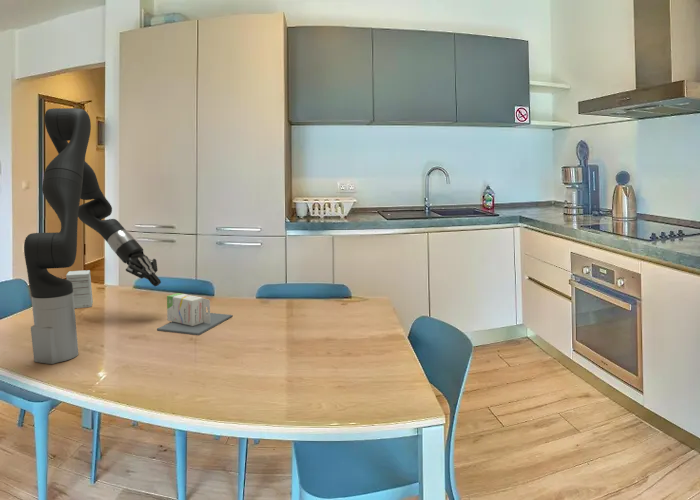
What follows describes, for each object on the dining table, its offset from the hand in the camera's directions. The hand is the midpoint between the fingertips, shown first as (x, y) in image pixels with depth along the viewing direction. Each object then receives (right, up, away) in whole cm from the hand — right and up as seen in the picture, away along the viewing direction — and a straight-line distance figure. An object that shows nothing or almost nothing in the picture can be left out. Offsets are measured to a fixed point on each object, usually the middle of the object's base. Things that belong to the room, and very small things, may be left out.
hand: (158, 284), depth 155 cm
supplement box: (-36, -9, +18) cm, 41 cm away
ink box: (+5, -7, 0) cm, 9 cm away
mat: (+13, -13, -2) cm, 19 cm away
